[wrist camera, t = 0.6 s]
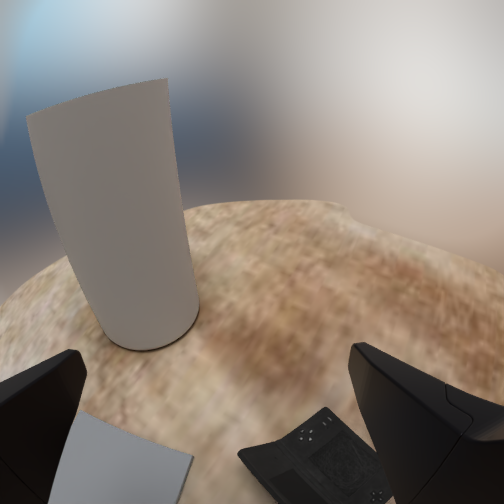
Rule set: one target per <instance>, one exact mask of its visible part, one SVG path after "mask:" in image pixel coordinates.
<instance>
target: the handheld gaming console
mask: <svg viewBox="0 0 504 504" xmlns="http://www.w3.org/2000/svg"><path fill="white" fill-rule="evenodd" d="M237 455H238V457H239V458H240V459H241V460H242V462H243V463H244V464H245V465H246V467H247V468H248V469H249V470H250V471H251V473H252V474H253V475H254V476H255V477H256V479H257V480H258V481H259V482H260V483H261V484H262V485H263V487H264V488H265V489H266V490H267V491H268V492H269V493H270V494H271V496H272V497H273V498H274V499H275V500H276V501H277V502H278V503H279V504H385V503H386V502H387V501H388V500H389V499H390V498H391V497H392V496H393V494H392V491H391V488H390V486H389V483H388V480H387V478H386V475H385V472H384V470H383V467H382V465H381V462H380V459H379V457H378V454H377V452H375V451H374V450H373V449H372V448H371V447H370V446H369V445H368V444H366V443H365V442H364V441H363V440H362V439H361V438H360V437H359V436H358V435H357V434H355V433H354V432H353V431H352V430H351V429H350V428H349V427H348V426H347V425H346V424H345V423H344V422H342V421H341V420H340V419H339V418H338V417H337V416H336V415H335V414H334V413H333V412H332V411H331V410H330V409H329V408H327V407H324V408H322V409H321V410H320V411H318V412H317V413H316V414H315V415H313V416H312V417H311V418H309V419H308V420H307V421H305V422H304V423H303V424H301V425H300V426H299V427H297V428H296V429H294V430H293V431H292V432H290V433H289V434H287V435H286V436H284V437H283V438H282V439H280V440H277V441H275V442H270V443H266V444H262V445H258V446H253V447H249V448H244V449H241V450H240V451H239V452H238V453H237Z"/></svg>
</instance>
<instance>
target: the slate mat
mask: <svg viewBox="0 0 504 504" xmlns="http://www.w3.org/2000/svg"><path fill="white" fill-rule="evenodd" d="M193 458H194V457H193V455H190V454H186V453H183V452H180V451H177V450H174V449H171V448H168V447H165V446H162V445H159V444H156V443H154V442H151V441H148V440H146V439H143V438H140V437H138V436H135V435H133V434H131V433H128V432H126V431H124V430H121V429H119V428H117V427H114V426H112V425H110V424H108V423H106V422H104V421H102V420H100V419H97V418H95V417H93V416H91V415H89V414H88V413H86V412H84V411H82V410H80V411H79V413H78V415H77V417H76V419H75V421H74V423H73V424H72V426H71V429H70V432H69V435H68V438H67V440H66V443H65V446H64V450H63V453H62V456H61V459H60V462H59V465H58V469H57V472H56V476H55V479H54V483H53V486H52V490H51V494H50V498H49V502H48V504H177V503H178V500H179V497H180V494H181V492H182V489H183V486H184V483H185V480H186V478H187V475H188V472H189V469H190V466H191V463H192V461H193Z"/></svg>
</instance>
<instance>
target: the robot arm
mask: <svg viewBox="0 0 504 504" xmlns="http://www.w3.org/2000/svg"><path fill="white" fill-rule="evenodd" d="M348 370H349V374H350V377H351V381H352V384H353V388H354V392H355V395H356V399H357V403H358V406H359V409H360V412H361V414H362V417H363V419H364V422H365V424H366V427H367V429H368V432H369V434H370V437H371V439H372V442H373V444H374V447H375V449H376V452H377V454H378V457H379V459H380V462H381V465H382V467H383V470H384V472H385V475H386V478H387V480H388V483H389V486H390V488H391V491H392V494H393V496H394V499H395V502H396V504H504V406H502V405H499V404H496V403H493V402H490V401H487V400H484V399H482V398H479V397H476V396H474V395H471V394H469V393H466V392H464V391H462V390H460V389H457V388H455V387H453V386H451V385H449V384H447V383H446V384H445V382H443V381H441V380H439V379H437V378H435V377H433V376H431V375H429V374H427V373H425V372H423V371H421V370H419V369H417V368H415V367H413V366H411V365H409V364H407V363H405V362H403V361H401V360H399V359H397V358H395V357H393V356H391V355H389V354H387V353H385V352H383V351H381V350H379V349H377V348H375V347H373V346H371V345H369V344H367V343H365V342H360V343H354V344H353V345H352V346H351V351H350V357H349V363H348ZM86 376H87V370H86V367H85V364H84V362H83V359H82V356H81V354H80V352H79V351H78V350H72V349H68V350H65V351H63V352H61V353H59V354H57V355H55V356H53V357H51V358H49V359H47V360H45V361H43V362H41V363H39V364H37V365H35V366H33V367H31V368H29V369H27V370H25V371H23V372H21V373H19V374H17V375H15V376H13V377H11V378H9V379H6V380H4V381H2V382H0V504H48V502H49V498H50V494H51V490H52V486H53V483H54V479H55V476H56V472H57V469H58V465H59V462H60V459H61V456H62V453H63V450H64V446H65V443H66V440H67V438H68V435H69V432H70V429H71V426H72V423H73V421H74V418H75V415H76V412H77V409H78V406H79V402H80V398H81V394H82V391H83V387H84V383H85V380H86Z"/></svg>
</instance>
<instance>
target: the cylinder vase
mask: <svg viewBox="0 0 504 504" xmlns="http://www.w3.org/2000/svg"><path fill="white" fill-rule="evenodd" d="M26 120H27V125H28V130H29V135H30V140H31V145H32V149H33V153H34V157H35V161H36V165H37V169H38V173H39V177H40V180H41V183H42V187H43V190H44V193H45V196H46V200H47V203H48V206H49V209H50V212H51V215H52V218H53V221H54V223H55V226H56V229H57V232H58V234H59V237H60V239H61V242H62V245H63V247H64V250H65V252H66V255H67V257H68V259H69V262H70V264H71V266H72V269H73V271H74V273H75V275H76V278H77V280H78V282H79V284H80V286H81V288H82V290H83V292H84V294H85V296H86V299H87V301H88V303H89V305H90V306H91V308H92V310H93V312H94V314H95V316H96V318H97V320H98V322H99V324H100V325H101V327H102V329H103V331H104V332H105V334H106V335H107V336H108V338H109V339H110V340H112V341H113V342H114V343H116V344H118V345H120V346H122V347H124V348H128V349H132V350H150V349H155V348H159V347H162V346H165V345H167V344H169V343H171V342H173V341H175V340H176V339H178V338H179V337H181V336H182V335H183V334H184V333H185V332H186V331H187V330H188V329H189V328H190V327H191V325H192V324H193V322H194V320H195V319H196V316H197V313H198V310H199V296H198V291H197V286H196V281H195V276H194V271H193V266H192V260H191V255H190V249H189V243H188V237H187V231H186V225H185V219H184V213H183V207H182V201H181V194H180V186H179V179H178V172H177V164H176V158H175V149H174V140H173V131H172V122H171V113H170V102H169V91H168V79H167V78H164V79H158V80H151V81H145V82H140V83H135V84H130V85H126V86H121V87H116V88H112V89H108V90H104V91H100V92H96V93H92V94H89V95H85V96H82V97H78V98H75V99H72V100H69V101H66V102H63V103H60V104H57V105H54V106H51V107H48V108H45V109H43V110H40V111H38V112H35V113H32V114H30V115H28V116H26Z"/></svg>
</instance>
